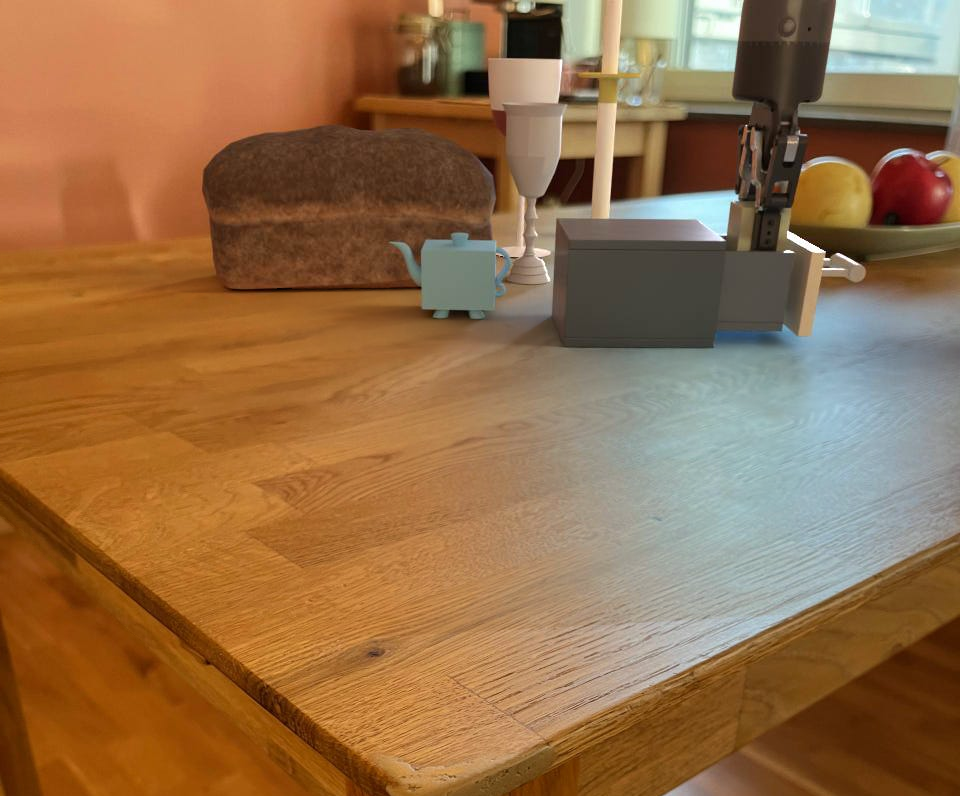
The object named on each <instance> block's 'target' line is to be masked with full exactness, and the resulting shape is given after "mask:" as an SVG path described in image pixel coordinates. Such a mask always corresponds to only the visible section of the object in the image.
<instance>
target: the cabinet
mask: <svg viewBox="0 0 960 796" xmlns="http://www.w3.org/2000/svg"><path fill="white" fill-rule="evenodd" d="M717 234H718V233H716V232H715V231H713V230H712V229H710V228H709V227H708V226H706V225H705V224H703V223H702V222H701V221H699V220H698V219H676V218H675V219H674V218H667V219H666V218H661V219H660V218H609V219H591V218H584V217H583V218H580V217H579V218H578V217H577V218H576V217H574V218H572V217H571V218H569V217H557V218H556V219H555V237H554V240H555V241H554V261H553V278H552V279H553V282H552V283H553V285H552V300H551V301H552V303H551V316H552V319H553V321H554V325H555V328H556V329H557V332H558V335H559V338H560V340H561V344H562V346H563V347H564V348H660V349H661V348H663V349H664V348H674V349H675V348H677V349H679V348H681V349H683V348H684V349H685V348H687V349H696V348H697V349H713V348H714V347H715V339H716V332H717V331H716V325H717V317H718V309H719V301H720V293H721V286H722V278H723V270H724V262H725V254H726V246H727V241H726V240H724V239H723V238H721V237H720V236H719V235H717Z"/></svg>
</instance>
